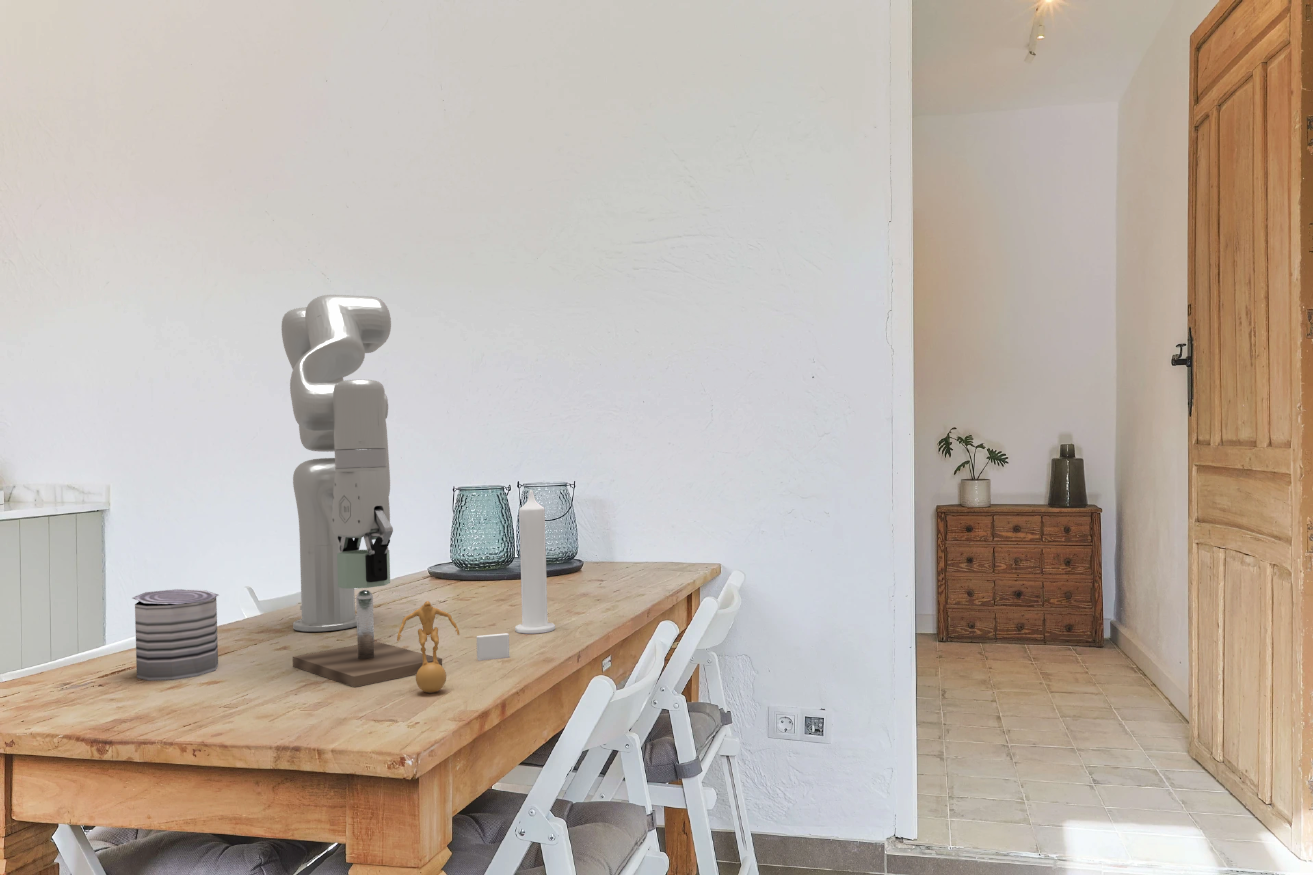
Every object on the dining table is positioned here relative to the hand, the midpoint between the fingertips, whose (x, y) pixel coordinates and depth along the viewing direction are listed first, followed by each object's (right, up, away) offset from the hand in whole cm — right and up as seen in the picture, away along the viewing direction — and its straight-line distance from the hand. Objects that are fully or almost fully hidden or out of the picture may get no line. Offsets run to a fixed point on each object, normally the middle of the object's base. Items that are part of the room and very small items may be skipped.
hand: (364, 578), depth 144 cm
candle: (+23, -13, +26) cm, 37 cm away
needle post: (0, -12, 0) cm, 12 cm away
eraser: (+19, -13, +4) cm, 23 cm away
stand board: (0, -13, 0) cm, 13 cm away
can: (-29, -15, +1) cm, 32 cm away
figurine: (+14, -13, -15) cm, 24 cm away
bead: (0, -1, 0) cm, 1 cm away
